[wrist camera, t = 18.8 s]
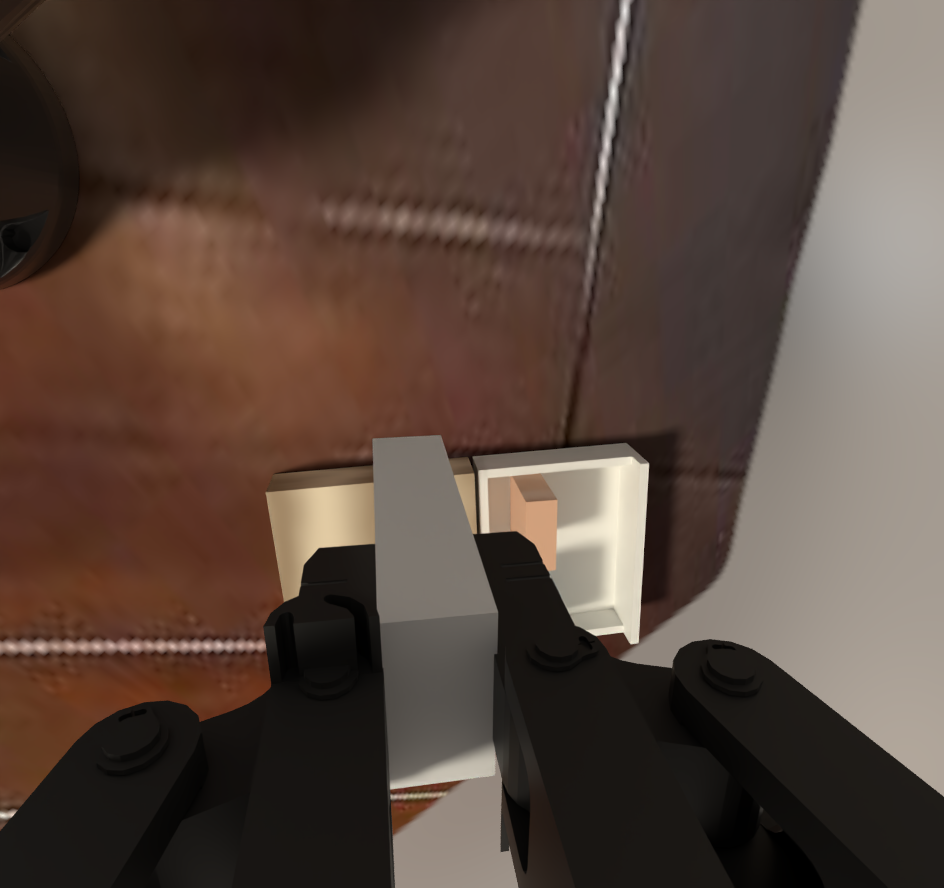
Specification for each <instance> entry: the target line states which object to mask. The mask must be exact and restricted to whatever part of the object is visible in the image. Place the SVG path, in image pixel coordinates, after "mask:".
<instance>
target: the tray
mask: <svg viewBox="0 0 944 888" xmlns="http://www.w3.org/2000/svg"><path fill="white" fill-rule="evenodd" d="M472 458H473V471H474V477H475V500H476V524H477V534H482V533H496V532H509V531H510V476H517V475H528V474H539V473H541V475H542V476H543V478H544V479H545V481H546V483H547V484H548V486H549V487H550V489H551V490H552V492H553V493H554V495H555V497H556V498H557V500H558V501H557V543H556V570H552V571H549V572H550V574H551V576H552V578H553V580H554V582H555V584H556V586H557V588H558V590H559V592H560V594H561V598H562V600H563V602H564V604H565V606H566V608H567V610H568V612H569V614H570V616H571V618H572V620H573V622H574V624H575V626H578V627H581V628H583V629H584V630H586V631H588V632H590V633H591V634H593V635H595V636H597V635H605V634H613V633H621V632H624V634H625V636H626V637H627V639H628V641H629V642H630V644H635V643H638V641H639V625H640V608H641V591H642V574H643V558H644V541H645V524H646V508H647V491H648V474H649V463H648V462H647V461H646V460H645V459H644V458H643V457H642V456H640V455H639V454H638V453H637V452H636V451H635V450H634V449H633V448H631V447H630V446H629V445H628V444H627V443H619V444H608V445H597V446H585V447H574V448H563V449H552V450H540V451H529V452H518V453H506V454H495V455H484V456H473V457H472Z"/></svg>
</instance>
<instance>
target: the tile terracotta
mask: <svg viewBox="0 0 944 888" xmlns="http://www.w3.org/2000/svg"><path fill="white" fill-rule="evenodd" d="M557 501H558V500H557V498H556V497H555V495H554V493H553V492H552V490H551V489H550V487H549V486H548V484H547V483H546V481H545V479H544V478H543V476H542V475H541V473H539V474H528V475H517V476H510V531H517V532H519V533H520V534H521V535H523V536H524V537H526V538H527V539H528V540H530V541H531V542H532V543H534V544H535V546H536V548H537V550H538V552H539V554H540V556H541V558H542V560H543V564H545V566H546V568H547V570H548V571H552V570H556V543H557Z"/></svg>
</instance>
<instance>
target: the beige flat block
mask: <svg viewBox="0 0 944 888" xmlns="http://www.w3.org/2000/svg"><path fill="white" fill-rule="evenodd" d="M449 462H450V465H451V468H452V471H453V474H454V478H455V481H456V484H457V487H458V490H459V493H460V496H461V499H462V502H463V505H464V508H465V512H466V515H467V518H468V521H469V524H470V527H471V530H472V533H473V534H477V524H476V500H475V477H474V471H473V468H472V466H471V463H470V461H469V458H468V457H461V458H450V459H449ZM266 496H267V502H268V508H269V514H270V520H271V526H272V532H273V538H274V544H275V550H276V556H277V562H278V568H279V574H280V580H281V586H282V592H283V598H284V602H285V601H288V600H290V599H292V598H295V597H297V596H299V590H300V587H301V578H302V573H303V567H304V564H305V563H306V562H307V561H308V559H309V558H310V557H311V556H312V555H313V554H314V553H315V552H316V551H317V549H318V548H324V547H338V546H351V545H364V544H375V516H374V477H373V465H371V466H360V467H349V468H337V469H326V470H315V471H303V472H292V473H281V474H273V477H272V479H271V481H270V484H269V486H268V489H267V491H266Z"/></svg>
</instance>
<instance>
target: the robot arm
mask: <svg viewBox="0 0 944 888" xmlns="http://www.w3.org/2000/svg"><path fill="white" fill-rule="evenodd" d="M44 1H45V0H0V289H3V288H6V287H9V286H11V285H14V284H16V283H18V282H20V281H22V280H24V279H25V278H27V277H28V276H30V275H32V274H33V273H34V272H36V271H37V270H38V269H40V268H41V267H42V266H43V265H44V264H45V263H46V262H47V261H48V260H49V259H50V258H51V257H52V256H53V255H54V253H55V252H56V251H57V249H58V248H59V247H60V245H61V243H62V242H63V240H64V238H65V237H66V234H67V232H68V230H69V228H70V226H71V223H72V220H73V217H74V214H75V210H76V205H77V200H78V191H79V166H78V158H77V152H76V147H75V142H74V139H73V135H72V131H71V128H70V125H69V123H68V120H67V117H66V115H65V113H64V110H63V108H62V106H61V104H60V102H59V100H58V98H57V96H56V94H55V92H54V91H53V89H52V87H51V85H50V84H49V82H48V81H47V79H46V78H45V76H44V75H43V73H42V72H41V71H40V69H39V68H38V66H37V65H36V64H35V63H34V61H33V60H32V59H31V58H30V57H29V55H28V54H27V53H26V52H25V51H24V50H23V49H22V48H21V47H20V45H19V44H18V43H17V42H16V41H15V40H14V39H13V38H11V37H10V36H9V35H8V34H9V33H10V32H12V31H13V30H14V29H15V28H16V27H17V26H18V25H19V24H20V23H21V22H22V21H23V20H24V19H26V18H27V17H28V16H29V15H30V14H31V13H32V12H33V11H34V10H35V9H36V8H37V7H38V6H40V5H41V4H42V3H43V2H44ZM373 477H374V516H375V544H364V545H351V546H338V547H324V548H318V549H317V551H316V552H315V553H314V554H313V555H312V556H311V557H310V558H309V559H308V561H307V562H306V563H305V564H304V567H303V573H302V578H301V587H300V590H299V596H297V597H295V598H292V599H290V600H288V601H285V602H284V603H283V604H282V605H280V606H279V607H278V608H277V609H275V610H274V611H273V612H272V613H271V614H270V616H269V617H268V619H267V621H266V623H265V625H264V626H263V628H264V635H265V642H266V649H267V656H268V663H269V670H270V678H271V688H270V689H269V690H268V691H267V692H265V693H264V694H263V695H262V696H260V697H258V698H257V699H255V700H254V701H252V702H250V703H249V704H247V705H244V706H242V707H240V708H237V709H235V710H233V711H230V712H227V713H225V714H222V715H219V716H216V717H213V718H210V719H207V720H204V721H201V722H199V717H198V715H197V714H196V713H195V712H193V711H192V710H191V709H190V708H189V707H188V706H187V705H184V704H179V703H175V702H171V701H156V702H144V703H141V704H138V705H135V706H132V707H129V708H126V709H122V710H119V711H117V712H116V713H114V714H112V715H110V716H109V717H107V718H105V719H103V720H102V721H100V722H98V723H96V724H95V725H94V726H92V727H91V728H90V729H89V730H88V731H87V732H86V733H85V734H84V735H83V736H82V737H80V738H79V739H78V740H77V741H76V742H75V743H74V744H73V745H72V747H71V748H70V749H69V750H68V751H67V753H66V754H65V755H64V756H63V757H62V759H61V760H60V761H59V762H58V763H57V764H56V766H55V767H54V768H53V769H52V770H51V772H50V773H49V774H48V775H47V776H46V778H45V779H44V780H43V781H42V782H41V783H40V785H39V786H38V787H37V788H36V789H35V791H34V792H33V793H32V794H31V795H30V797H29V798H28V799H27V800H26V801H25V802H24V804H23V805H22V806H21V807H20V808H19V810H18V811H17V812H16V813H15V814H14V816H13V817H12V818H11V819H10V820H9V821H8V823H7V824H6V825H5V826H4V827H3V829H2V830H1V831H0V888H395V880H394V858H393V857H394V856H393V834H392V815H391V799H390V789H396V788H404V787H411V786H419V785H426V784H434V783H441V782H449V781H456V780H464V779H471V778H479V777H486V776H494V775H495V751H496V755H497V760H498V763H499V768H500V772H501V777H502V804H501V806H502V808H501V852H503V851H509V846H510V850H511V855H512V859H513V864H514V869H515V873H516V877H517V882H518V887H519V888H944V797H943V796H942V795H941V794H940V793H938V792H937V791H936V790H934V789H933V788H932V787H931V786H929V785H928V784H927V783H926V782H924V781H923V780H922V779H920V778H919V777H918V776H917V775H916V774H914V773H913V772H912V771H910V770H909V769H908V768H907V767H905V766H904V765H903V764H902V763H900V762H899V761H898V760H896V759H895V758H894V757H893V756H891V755H890V754H889V753H887V752H886V751H885V750H883V748H881V747H880V746H879V745H877V744H876V743H875V742H873V741H872V740H871V739H870V738H869V737H867V736H866V735H865V734H863V733H862V732H861V731H859V730H858V729H857V728H856V727H855V726H853V725H852V724H851V723H849V722H848V721H847V720H846V719H844V718H843V717H842V716H841V715H839V714H838V713H837V712H835V711H834V710H833V709H832V708H830V707H829V706H828V705H827V704H825V703H824V702H823V701H822V700H820V699H819V698H818V697H817V696H815V695H814V694H813V693H811V692H810V691H809V690H808V689H806V688H805V687H804V686H803V685H801V684H800V683H799V682H797V681H796V680H795V679H794V678H792V677H791V676H790V675H789V674H787V673H786V672H785V671H784V670H782V669H781V668H779V667H778V666H777V665H776V664H774V663H773V662H772V661H771V660H769V659H768V658H766V657H764V656H763V655H761V654H759V653H758V652H756V651H754V650H753V649H750V648H748V647H745V646H742V645H739V644H736V643H733V642H729V641H720V640H712V639H709V640H702V641H694V642H691V643H689V644H688V645H686V646H684V647H682V648H680V649H679V651H678V653H677V655H676V656H675V658H674V660H673V667H672V668H667V667H659V666H651V665H643V664H636V663H631V662H626V661H622V660H619V659H616V658H613V657H611V656H610V655H609V653H608V651H607V649H606V648H605V646H604V645H603V644H602V643H601V642H600V641H599V639H598V638H597V637H596V636H595V635H593V634H591V633H590V632H588V631H586V630H584V629H583V628H581V627H578V626H575V624H574V622H573V620H572V618H571V616H570V614H569V612H568V610H567V608H566V606H565V604H564V602H563V600H562V598H561V596H560V594H559V592H558V590H557V588H556V586H555V584H554V582H553V580H552V578H550V574H549V572H548V570H547V568H546V566H545V564H543V560H542V558H541V556H540V554H539V552H538V550H537V548H536V546H535V544H534V543H532V542H531V541H530V540H528V539H527V538H526V537H524V536H523V535H521V534H520V533H519V532H517V531H509V532H496V533H482V534H473V533H472V530H471V527H470V524H469V521H468V518H467V515H466V512H465V508H464V505H463V502H462V499H461V496H460V493H459V490H458V487H457V484H456V481H455V478H454V474H453V471H452V468H451V465H450V462H449V459H448V456H447V453H446V450H445V447H444V444H443V441H442V437H441V435H435V436H415V437H396V438H377V439H373Z"/></svg>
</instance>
